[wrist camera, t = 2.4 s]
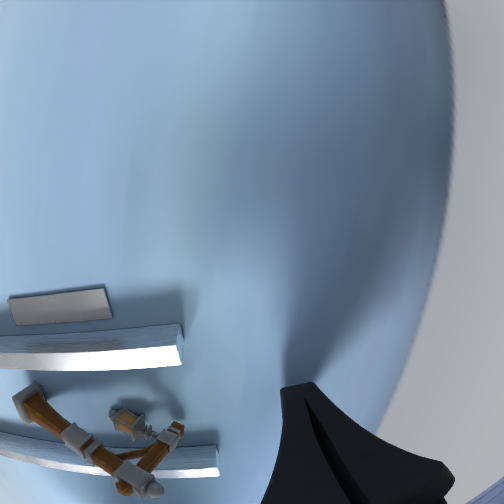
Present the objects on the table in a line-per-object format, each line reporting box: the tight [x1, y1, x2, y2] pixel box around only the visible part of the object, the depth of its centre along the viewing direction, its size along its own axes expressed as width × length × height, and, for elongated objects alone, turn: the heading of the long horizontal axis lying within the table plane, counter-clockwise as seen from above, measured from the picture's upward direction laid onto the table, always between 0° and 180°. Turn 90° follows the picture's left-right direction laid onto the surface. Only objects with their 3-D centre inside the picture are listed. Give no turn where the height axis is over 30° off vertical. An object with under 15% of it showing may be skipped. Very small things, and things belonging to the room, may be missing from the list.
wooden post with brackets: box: [12, 382, 184, 500], centre depth 11 cm, size 2×8×4 cm, turn 83°
